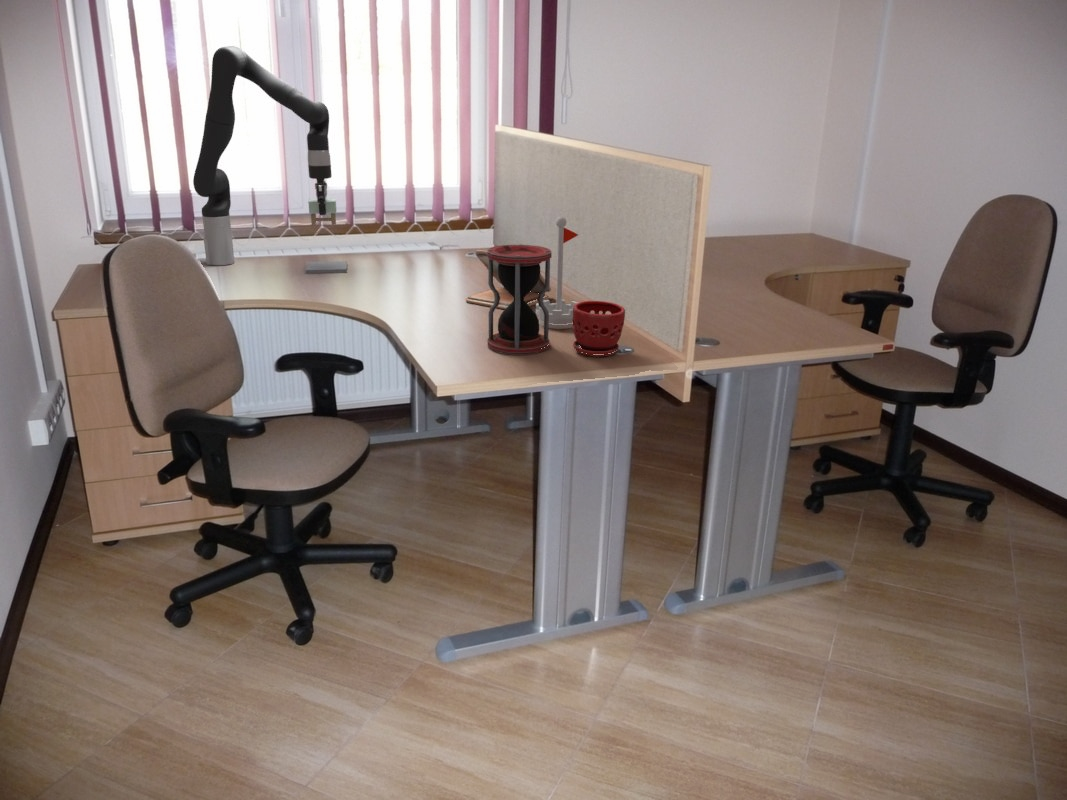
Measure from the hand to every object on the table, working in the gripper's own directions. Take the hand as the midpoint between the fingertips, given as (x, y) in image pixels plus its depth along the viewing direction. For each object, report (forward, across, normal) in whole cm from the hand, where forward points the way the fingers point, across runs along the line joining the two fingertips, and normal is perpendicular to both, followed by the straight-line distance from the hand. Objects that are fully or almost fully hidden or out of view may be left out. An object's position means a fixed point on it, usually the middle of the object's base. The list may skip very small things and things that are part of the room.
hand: (323, 213), depth 299 cm
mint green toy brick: (+4, 0, 0) cm, 4 cm away
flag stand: (+20, -81, -67) cm, 107 cm away
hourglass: (+20, -101, -52) cm, 115 cm away
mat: (+20, 0, 0) cm, 20 cm away
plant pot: (+20, -109, -71) cm, 132 cm away
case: (+20, -53, -57) cm, 80 cm away
